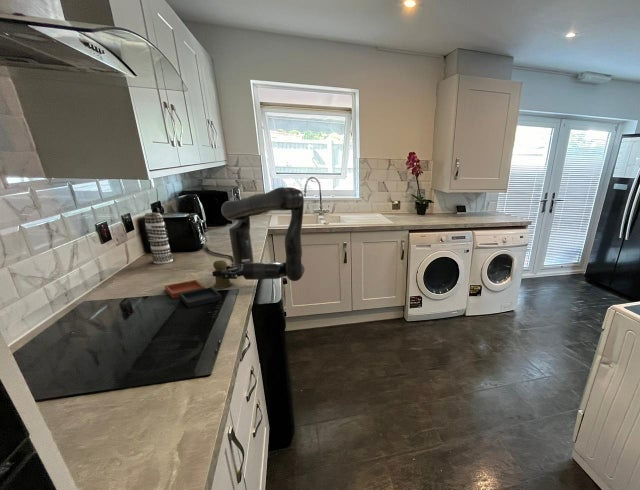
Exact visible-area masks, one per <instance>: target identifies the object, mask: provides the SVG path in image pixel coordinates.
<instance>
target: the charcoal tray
mask: <svg viewBox="0 0 640 490" xmlns="http://www.w3.org/2000/svg"><path fill="white" fill-rule="evenodd" d="M179 296H180V297H179V299H180V300H181V301H182V302H183V303H184V304H185V305H186V306H187V307H188V309H190V308H194V307H197V306H203V305H207V304H209V303H214V302H218V301H222V300H223V296H222V294H221V293H219V292H218V291H217V290H216V289H215V288H213V286H209V287H205V288H204V289H199V290H194V291H190V292H185V293H180V294H179Z"/></svg>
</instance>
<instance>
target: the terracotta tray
mask: <svg viewBox="0 0 640 490" xmlns="http://www.w3.org/2000/svg"><path fill="white" fill-rule="evenodd" d="M204 288H206V286H205V285H203V284H202V283H201V282H200V281H199V280H197V279H193V280H187V281H183V282H177V283H171V284H167V285H164V289H165V291H166V292H167V294H168V295H169V296H170V297H171V298H172V299H179V298H180V296H179V294H180V293H185V292H190V291H194V290H199V289H204Z"/></svg>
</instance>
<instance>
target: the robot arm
mask: <svg viewBox="0 0 640 490" xmlns="http://www.w3.org/2000/svg"><path fill="white" fill-rule="evenodd" d="M304 206H305V198H304V194H303V191H302V189H300V188H299V187H297V186H280V187H276V188H274V189H272V190H270V191H268V192H265V193H264V192H263V193H262V192H261V193H256V194H252V195H250V196H246V197H243V198H241V199H237V200H236V199H235V200H227V201H225V202H223V203H222V205H221V208H220V209H221V210H220V211H221V215H222V216H223V217H224V218H225V219H226V220H228V221H231V222H232V221H237V222H236V223H234V225H232V226H231V227H229V228H228V231H229V233H228V234H229V238H230V245H231V252H232V255H229V254H224V253H219V252H215V251H212V250H210V248H209V246H208V245H205V249H206V251H207V252H209V253H211V254H214V255H216V256H217V255H218V256H223V257H228V258H231V260H232V262H233V263H232V264H229V265H227V267H226V270H227V271H215V270H213V271H212V277H215V276H222V279H230V280H237V279H238V278H239V277H243V278H244V280H246V281H247V280H248V281H249V280H250V281H251V280H252V281H255V280H258V281H259V280H261V281H262V280H263V281H264V280H279V279H281V278H283V277H286V278H287V279H288V280H290V281H292V282H297V281H299V280H301V279H302V277H303V275H304V274H305V265H304V264H303V263H302V257H303V243H302V228H303V219H304ZM273 211H277V212H279V211H280V212H281V211H282V212H286V211H290V214H291V215H290V216H291V217H290V222H289V225H288V226H287V230H286V232H285V235H284V252H285V261H284V262H277V263H276V262H255V261H254V253H253V252H254V251H253V245H252V237H251V217H260V216H265V215H268V214H270V213H271V212H273ZM225 274H227V275H225Z"/></svg>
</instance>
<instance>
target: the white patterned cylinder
mask: <svg viewBox="0 0 640 490" xmlns="http://www.w3.org/2000/svg"><path fill="white" fill-rule="evenodd" d="M143 218H144V225H145V227H144V230H145V233H146V238H147V240H148V242H149V245H150V253H151V258H152V261H153V264H159V265H160V264H168V263H171V262H172V263H173V261H174V259H173V258H174V257H173V253H172V250H171V249H172V248H171V247H170V244H169V236H168V235H169V233H168V229H166V228H167V225H166V223H165V221H164V216H163V215H162V214H161V213H160V212H147V213H146V212H145V213H144V216H143Z"/></svg>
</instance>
